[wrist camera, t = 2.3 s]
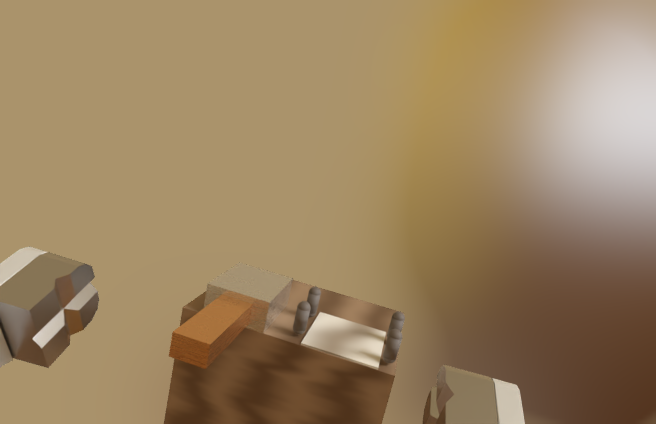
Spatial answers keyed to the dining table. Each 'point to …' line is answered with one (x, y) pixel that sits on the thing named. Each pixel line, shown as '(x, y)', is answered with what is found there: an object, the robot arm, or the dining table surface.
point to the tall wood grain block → (295, 366)
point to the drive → (230, 312)
